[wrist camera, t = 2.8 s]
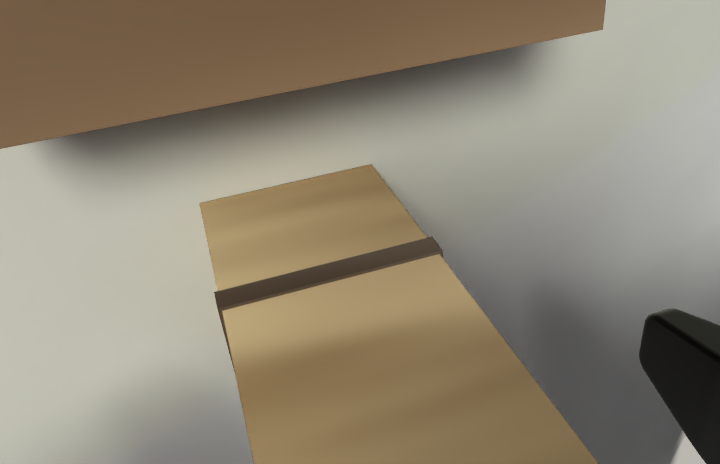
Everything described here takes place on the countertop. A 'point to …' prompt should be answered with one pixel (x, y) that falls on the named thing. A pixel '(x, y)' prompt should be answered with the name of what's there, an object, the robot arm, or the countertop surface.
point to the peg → (366, 336)
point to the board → (234, 51)
